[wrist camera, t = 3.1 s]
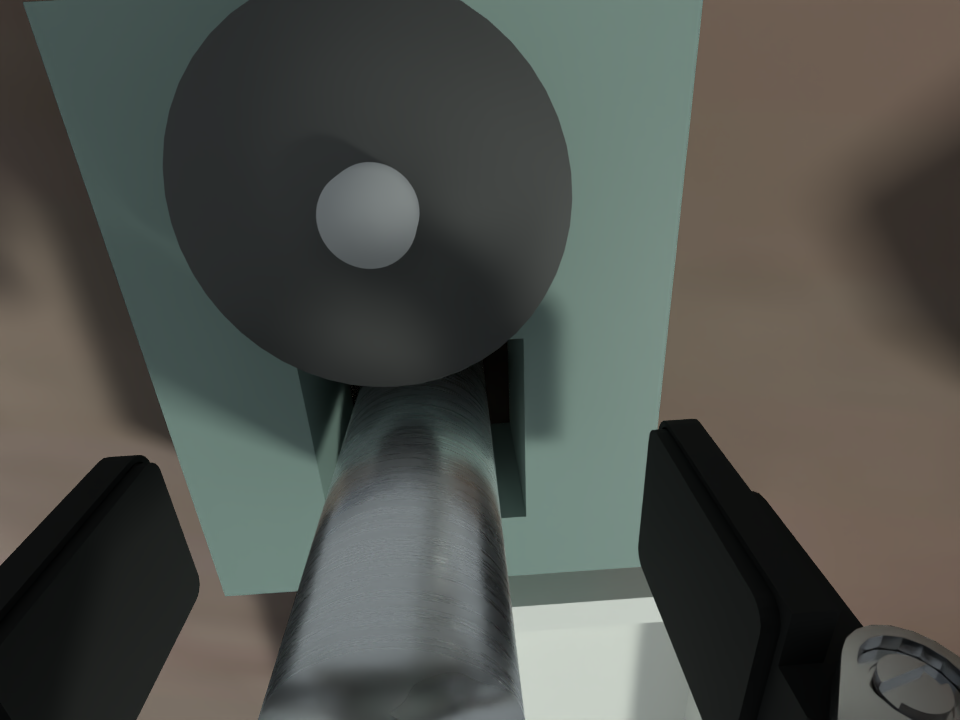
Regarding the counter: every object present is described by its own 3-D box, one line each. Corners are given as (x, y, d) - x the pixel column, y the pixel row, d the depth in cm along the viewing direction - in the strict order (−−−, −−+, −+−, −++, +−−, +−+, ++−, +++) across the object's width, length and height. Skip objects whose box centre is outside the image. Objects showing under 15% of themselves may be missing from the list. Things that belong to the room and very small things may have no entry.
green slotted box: (154, 28, 12) (-193, -43, 5) (629, 5, 12) (828, -89, 6) (273, 488, 17) (168, 724, 11) (602, 466, 17) (690, 685, 11)
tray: (333, 535, 18) (311, 621, 15) (737, 508, 18) (792, 587, 15) (386, 786, 24) (377, 881, 21) (688, 762, 24) (720, 853, 21)
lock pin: (365, 310, 15) (226, 662, 6) (479, 303, 15) (525, 640, 6) (378, 409, 16) (285, 824, 7) (484, 402, 16) (527, 804, 7)
